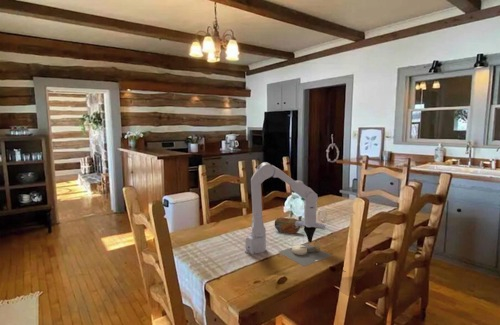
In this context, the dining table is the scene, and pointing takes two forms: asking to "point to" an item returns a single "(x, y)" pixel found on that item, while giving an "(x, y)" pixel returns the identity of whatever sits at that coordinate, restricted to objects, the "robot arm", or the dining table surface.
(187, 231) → the dining table surface
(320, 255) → the stand plate
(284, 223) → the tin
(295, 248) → the cam dial
